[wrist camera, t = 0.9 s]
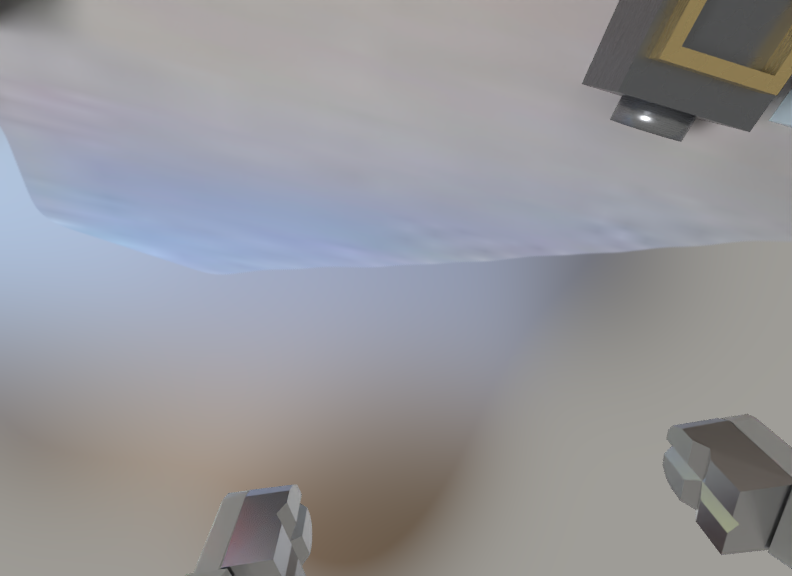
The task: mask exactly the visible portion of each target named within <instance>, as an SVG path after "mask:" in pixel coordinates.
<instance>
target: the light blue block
mask: <svg viewBox="0 0 792 576" xmlns="http://www.w3.org/2000/svg"><path fill="white" fill-rule="evenodd" d="M769 121H771V122H775V123H778V124H781V125H784V126H788V127H791V128H792V89H791V90H790V92H789V93H788V94H787V96H786V97H785V99H784V100H783V101H782V103H781V104H780V106H779V107H778V109H777V110H776V111H775V113H774V114H773V116H772V117H771V118H770V120H769Z"/></svg>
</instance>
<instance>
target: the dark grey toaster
mask: <svg viewBox="0 0 792 576" xmlns="http://www.w3.org/2000/svg"><path fill="white" fill-rule="evenodd" d="M791 75H792V0H620V1H619V3H618V5H617V7H616V9H615V12H614V14H613V16H612V18H611V21H610V23H609V25H608V27H607V29H606V32H605V34H604V36H603V38H602V41H601V43H600V45H599V47H598V49H597V52H596V54H595V56H594V58H593V61H592V63H591V65H590V67H589V69H588V72H587V74H586V76H585V78H584V81H583V83H582V84H584V85H587V86H590V87H594V88H597V89H600V90H604V91H607V92H610V93H614V94H617V95H620V96H622V97H621V99H620V101H619V103H618V105H617V107H616V109H615V111H614V113H613V115H612V117H611V119H610V120H613V121H616V122H618V123H621V124H624V125H627V126H630V127H633V128H636V129H640V130H643V131H646V132H649V133H652V134H656V135H659V136H662V137H666V138H669V139H673V140H676V141H682V140H683V138H684V137H685V135H686V133H687V132H688V130H689V128H690V127H691V125H692V124H693V122H694V120H695V119H696V118H697V119H701V120H705V121H709V122H713V123H717V124H721V125H725V126H728V127H732V128H736V129H740V130H744V131H748V132H750V131H751V130H752V128H753V127H754V125H755V124H756V122H757V121H758V119H759V118H760V117H761V115H762V114H763V112H764V111H765V109H766V108H767V106H768V105H769V104H770V102H771V101H772V99H773V98H774V96H775V95H778V93H779V92H780V90H781V89H782V88H783V86H784V85H785V83H786V82H787V80H788V79H789V78H790V76H791Z"/></svg>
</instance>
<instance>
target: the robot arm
mask: <svg viewBox="0 0 792 576" xmlns="http://www.w3.org/2000/svg"><path fill="white" fill-rule="evenodd" d="M667 440H668V441H669V443H670V444H671V445H672V446H671V447H670V449H668V450H667V452H665V454H664V459H663V468H664V472H665V475H666V479H667V481H668V483H669V485H670V486H671V488H672V490H673V491H674V492H675V494H676V495H677V497H678V498H679V500H680V501H682V502H684V503H686V504H687V505H689V506H690V507H692V508H694V509H695V510H696V522H697V524H698V525H699V526H700V527H701V529H702V530H703V531H704V533H705V534H706V535H707V537H708V538H709V539H710V541H711V542H712V543H713V544H714V546H715V547H716V549H717V550H718V551H719V552H720V554H721V555H724V554H734V553H743V552H752V551H761V550H768V553H769V554H771V555H772V556H774V557H775V558H777V559H778V560H780V561H781V562H782V563H784V564H786V565H787V566H788V567H790V568H791V569H792V447H791V446H789V445H788V444H787V443H786V442H784V441H783V440H782V439H781V438H780V437H779V436H777V435H776V434H775V433H774V432H773V431H771V430H770V429H769V428H768V427H766V426H765V425H764V424H763V423H762V422H760V421H759V420H758V419H757V418H755V417H753V416H751V415H749V414H745V415H738V416H731V417H725V418H720V419H719V418H715V419H709V420H703V421H697V422H692V423H685V424H680V425H674V426H672V427H671V428H670V429H669V430H668V434H667ZM301 495H302V494H301V492H300V490H299V488H298V486H297V485H287V486H279V487H271V488H263V489H255V490H248V491H241V492H234V493H228V494H227V496H226V497H225V498H224V499H223V501H222V503H221V505H220V508H219V510H218V513H217V515H216V518H215V520H214V523H213V525H212V528H211V530H210V533H209V535H208V538H207V540H206V543H205V545H204V548H203V550H202V553H201V555H200V558H199V561H198V563H197V565H196V568H195V570H194V573H190V574H186V575H185V576H306V575H305V572H304V570H303V568H302V565H303V563H304V562H305V561H306V559H307V558H308V557H309V555H310V551H311V544H312V523H311V518H310V514H309V511H308V509H307V507H305V506H304V505H302V504H300V500H301Z"/></svg>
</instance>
